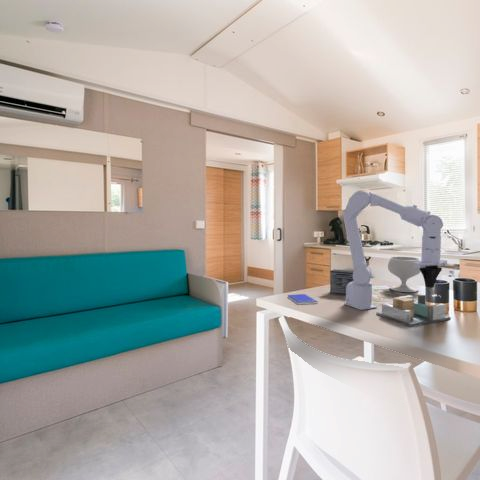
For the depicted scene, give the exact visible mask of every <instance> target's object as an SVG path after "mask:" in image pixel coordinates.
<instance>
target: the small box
mask: <svg viewBox="0 0 480 480" xmlns="http://www.w3.org/2000/svg"><path fill="white" fill-rule="evenodd" d="M329 272H330V277H329V278H330V279H329V281H330V282H329V283H330V284H329V286H330V287H329V289H330V291H329V294H331V295H339V296H346V287H347V285H348V283H350V282H352V281H354V279H353V272H354V270H351V269H350V270H348V269H336V268H335V269H332V270H330V271H329Z"/></svg>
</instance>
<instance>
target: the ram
mask: <svg viewBox="0 0 480 480" xmlns="http://www.w3.org/2000/svg"><path fill="white" fill-rule="evenodd" d="M426 303H427V296H426V295H425V294H417V301H414V313H415V314H418V315H421V316H425V317H429V305H428V304H426Z"/></svg>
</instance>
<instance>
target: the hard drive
mask: <svg viewBox="0 0 480 480" xmlns="http://www.w3.org/2000/svg"><path fill="white" fill-rule="evenodd" d="M287 298H288V299H289V300H291V301H293V302H294V303H295V304H297V305H298V306H299V305H312V304H315V305H316V304H318V303H319V302H318V300H316V299H314V298H312V297H311V296H309V295H307V294H303V293H300V294H287Z"/></svg>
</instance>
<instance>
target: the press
mask: <svg viewBox="0 0 480 480" xmlns="http://www.w3.org/2000/svg"><path fill="white" fill-rule="evenodd" d="M400 297H406V298H409V299H413V300H414V296H413V295H411V294H410V295H403V296H402V295H401V296H400ZM446 313H447V304H444V303H435V304H432V305H429V317H425V316H421V315H418V314H415V313H414V317H413V318H411V311H410V310H407V309H404V308H400V307H397V306H394V305H393V304H391V303H385V302H384V303H381V311H377V312H376V315H377V316H379V317H382V318H384V319H388V320H390V321H393V322H396V323H399V324H401V325H404V326H407V327H410V328H411V327H418V326H423V325H427V324H433V323H438V322H444V321H449V320H451V319H452V317H451V316H448V315H447V314H446Z"/></svg>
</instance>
